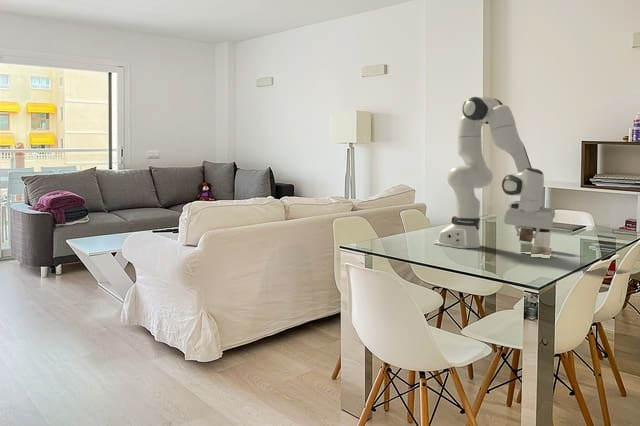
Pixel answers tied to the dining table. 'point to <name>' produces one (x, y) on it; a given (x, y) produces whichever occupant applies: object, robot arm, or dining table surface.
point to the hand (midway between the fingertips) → (526, 236)
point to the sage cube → (525, 246)
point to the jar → (541, 238)
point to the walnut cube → (526, 235)
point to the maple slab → (541, 250)
